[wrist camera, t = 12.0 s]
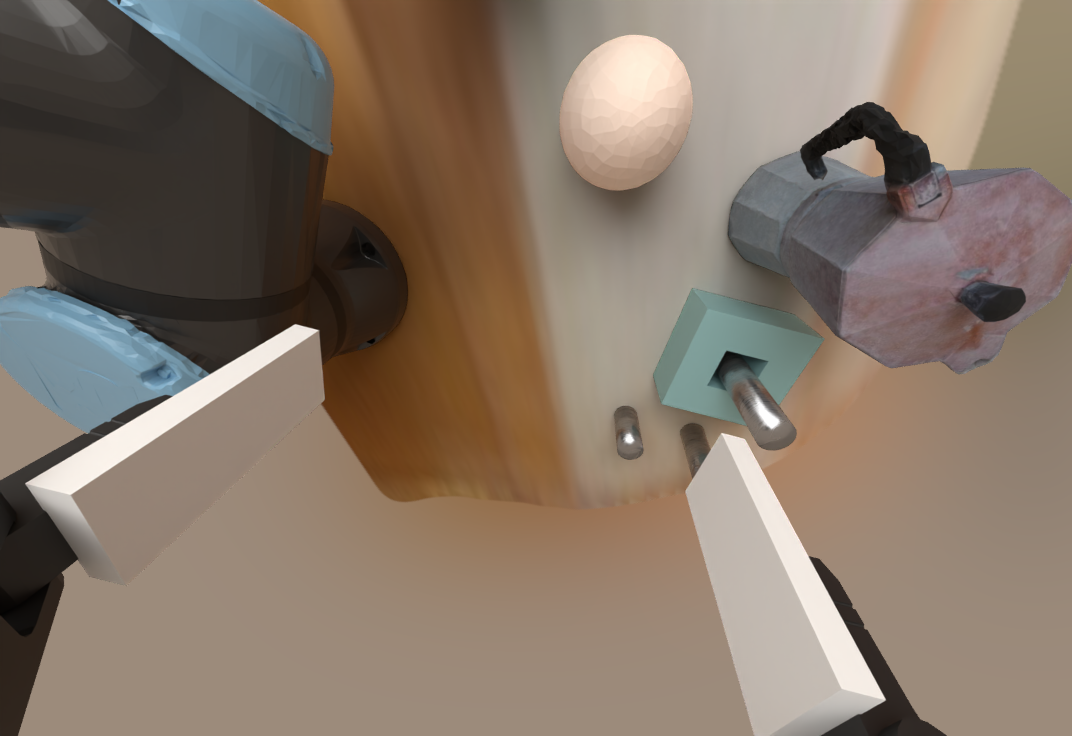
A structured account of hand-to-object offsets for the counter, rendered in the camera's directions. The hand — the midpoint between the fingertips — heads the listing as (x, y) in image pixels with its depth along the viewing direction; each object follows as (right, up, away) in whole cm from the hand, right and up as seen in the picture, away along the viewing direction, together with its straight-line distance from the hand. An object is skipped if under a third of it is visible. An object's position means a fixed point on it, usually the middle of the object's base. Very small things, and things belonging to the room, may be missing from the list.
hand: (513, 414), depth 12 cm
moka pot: (+21, +15, +20) cm, 33 cm away
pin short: (+11, -4, +32) cm, 34 cm away
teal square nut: (+19, +4, +26) cm, 33 cm away
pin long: (+19, +4, +26) cm, 33 cm away
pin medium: (+19, -6, +32) cm, 37 cm away
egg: (+7, +21, +18) cm, 29 cm away
